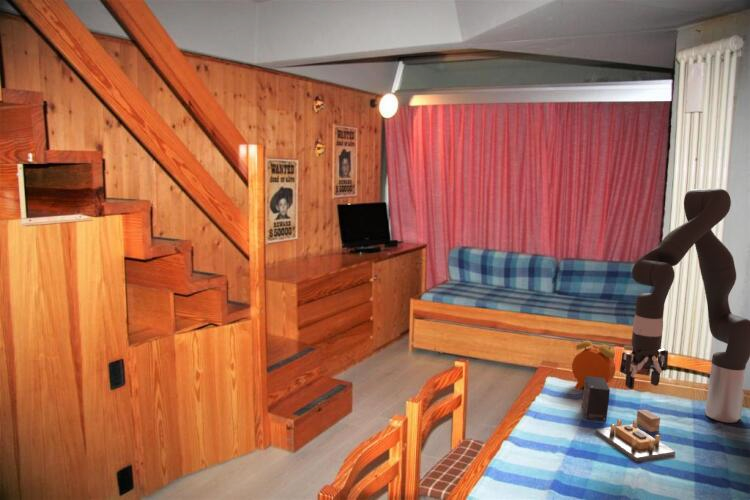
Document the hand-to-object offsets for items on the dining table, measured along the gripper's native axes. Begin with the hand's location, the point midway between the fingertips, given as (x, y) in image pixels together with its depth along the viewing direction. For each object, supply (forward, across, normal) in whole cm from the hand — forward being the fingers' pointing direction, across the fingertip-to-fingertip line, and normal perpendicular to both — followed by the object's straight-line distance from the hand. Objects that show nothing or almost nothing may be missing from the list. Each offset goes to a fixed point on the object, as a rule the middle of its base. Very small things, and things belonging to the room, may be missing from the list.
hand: (642, 386), depth 168 cm
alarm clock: (+17, -13, -36) cm, 42 cm away
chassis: (+17, +2, +1) cm, 17 cm away
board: (+16, +2, +1) cm, 16 cm away
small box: (+17, 0, -19) cm, 26 cm away
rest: (+17, -10, -7) cm, 21 cm away
